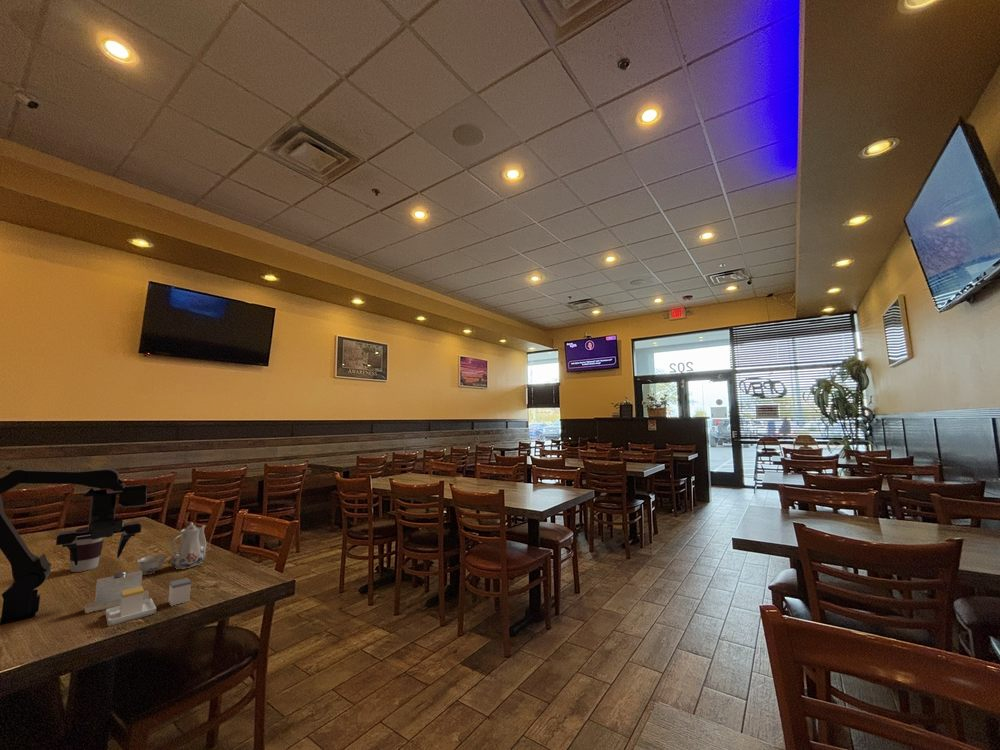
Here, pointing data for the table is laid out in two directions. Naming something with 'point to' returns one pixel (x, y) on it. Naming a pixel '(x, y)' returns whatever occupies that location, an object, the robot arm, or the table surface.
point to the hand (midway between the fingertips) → (97, 561)
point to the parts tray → (115, 618)
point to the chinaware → (180, 551)
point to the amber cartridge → (131, 601)
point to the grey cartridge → (179, 591)
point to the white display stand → (114, 590)
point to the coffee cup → (86, 552)
